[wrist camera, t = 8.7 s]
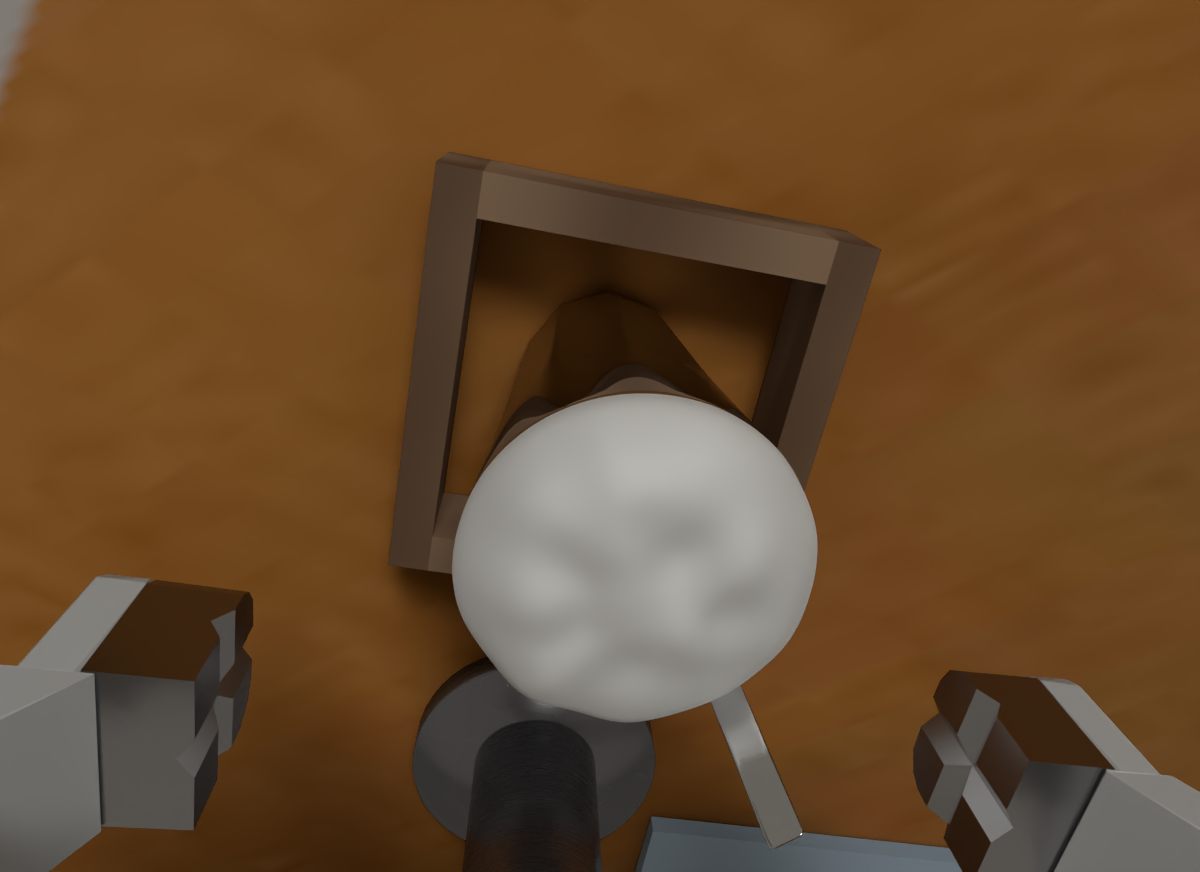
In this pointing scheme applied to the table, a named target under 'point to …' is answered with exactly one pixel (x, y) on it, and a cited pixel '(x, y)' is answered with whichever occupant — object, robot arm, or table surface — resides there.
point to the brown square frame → (632, 219)
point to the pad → (777, 851)
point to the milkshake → (635, 538)
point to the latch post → (526, 775)
